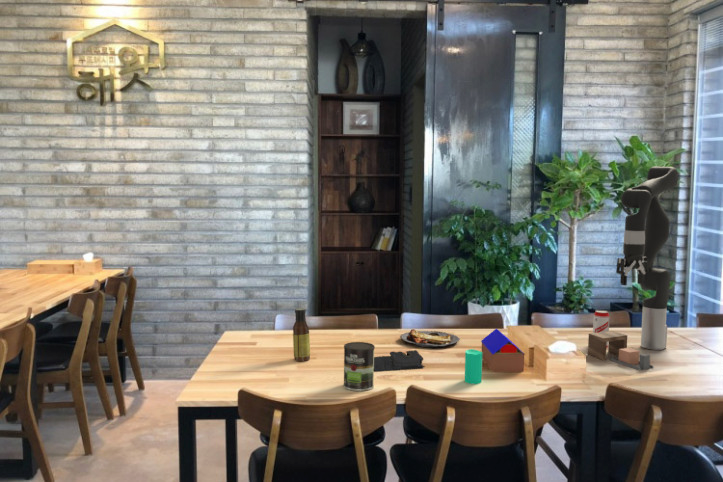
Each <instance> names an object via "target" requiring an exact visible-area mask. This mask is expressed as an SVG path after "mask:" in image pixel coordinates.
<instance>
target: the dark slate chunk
mask: <svg viewBox="0 0 723 482" xmlns="http://www.w3.org/2000/svg"><path fill="white" fill-rule="evenodd" d="M405 352H406V353H405ZM405 352H402V351H390V352H389V355H382V356H381V355H379V356H374V373H375V372H376V373H377V372H379V373H380V372H392V371H393V372H394V371H407V370H409V371H410V370H420V369H421V370H422V369H424V368H426V366H424V364H423V361H424V357H423V356H422V355H421V354H420V353H419V351H418V350H416V349H415V350H406V351H405Z"/></svg>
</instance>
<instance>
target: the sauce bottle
mask: <svg viewBox="0 0 723 482" xmlns="http://www.w3.org/2000/svg"><path fill="white" fill-rule="evenodd" d="M306 312H307V311H306V308H303V307H299V308H297V307H296V308H294V314H295V322H294V323H293V327H292V340H293V342H292V344H293V358H294V361H297V362H299V363H300V362H307V361H309V360H310V359H311V357H310V356H311V343H310V329H309V326H308V324H307V321H306V320H307V319H306Z"/></svg>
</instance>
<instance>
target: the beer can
mask: <svg viewBox="0 0 723 482" xmlns="http://www.w3.org/2000/svg"><path fill="white" fill-rule="evenodd" d="M610 317H611V316H610V314H609V311H608V310H603V309H597V310H595V312H594V313H593V322H592V333H598V332H607V331H610ZM608 345H609V342H607V345H606V349H608Z"/></svg>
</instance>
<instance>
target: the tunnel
mask: <svg viewBox="0 0 723 482" xmlns="http://www.w3.org/2000/svg"><path fill="white" fill-rule="evenodd" d="M587 338H588V339H587V340H588V342H587V343H588V346H587V356H590V357H592V358H596V359H598V360H601V361H606V359H607V353H609V354H611V355H615V356H617V357H618V356H619V349H624V348H628V335H627V334H624V333H620V332H616V331H613V330H609V331H607V332H598V333H593V332H591V333H588V337H587ZM607 342H608V347H607V348H606V345H607Z"/></svg>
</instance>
